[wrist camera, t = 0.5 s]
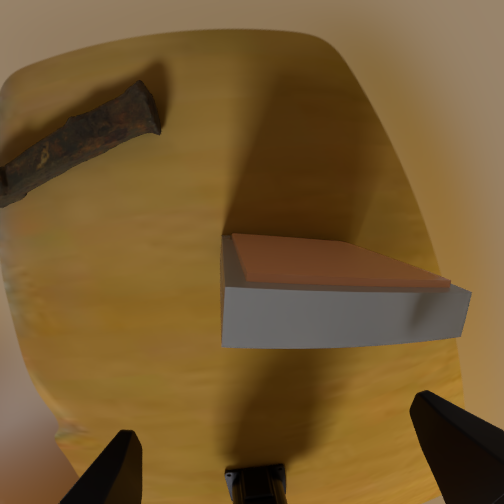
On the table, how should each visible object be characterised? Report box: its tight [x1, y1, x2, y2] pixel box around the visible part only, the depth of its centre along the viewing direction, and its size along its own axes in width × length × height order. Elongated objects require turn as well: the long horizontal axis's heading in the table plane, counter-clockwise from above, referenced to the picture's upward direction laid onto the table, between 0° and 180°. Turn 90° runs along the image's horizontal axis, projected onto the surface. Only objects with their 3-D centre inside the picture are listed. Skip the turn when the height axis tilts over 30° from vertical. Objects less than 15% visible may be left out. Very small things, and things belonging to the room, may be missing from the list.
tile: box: [220, 233, 472, 349], centre depth 17 cm, size 2×10×14 cm, turn 85°
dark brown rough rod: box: [0, 80, 161, 208], centre depth 18 cm, size 19×4×5 cm, turn 107°
